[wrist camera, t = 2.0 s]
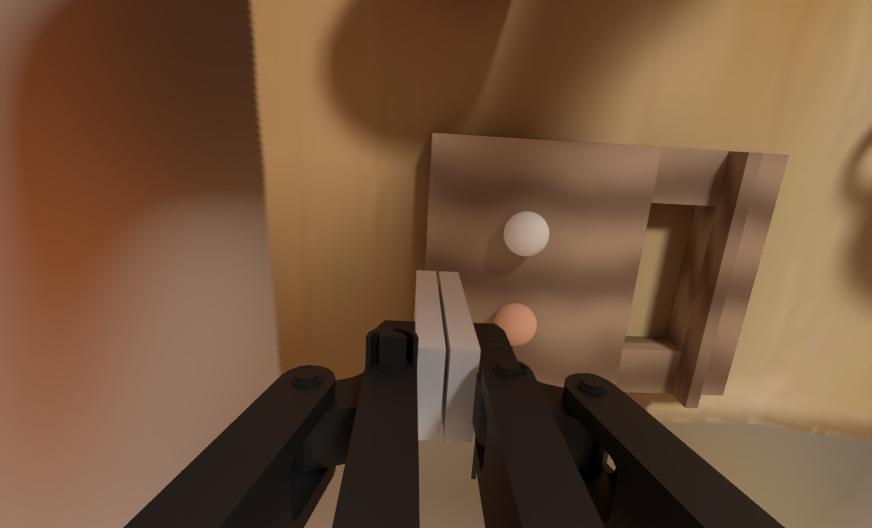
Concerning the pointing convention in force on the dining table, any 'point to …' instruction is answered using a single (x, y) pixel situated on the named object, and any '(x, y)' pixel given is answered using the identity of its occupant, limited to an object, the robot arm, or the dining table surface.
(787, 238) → the dining table surface
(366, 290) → the dining table surface
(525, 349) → the board
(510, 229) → the ball white
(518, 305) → the ball terracotta
